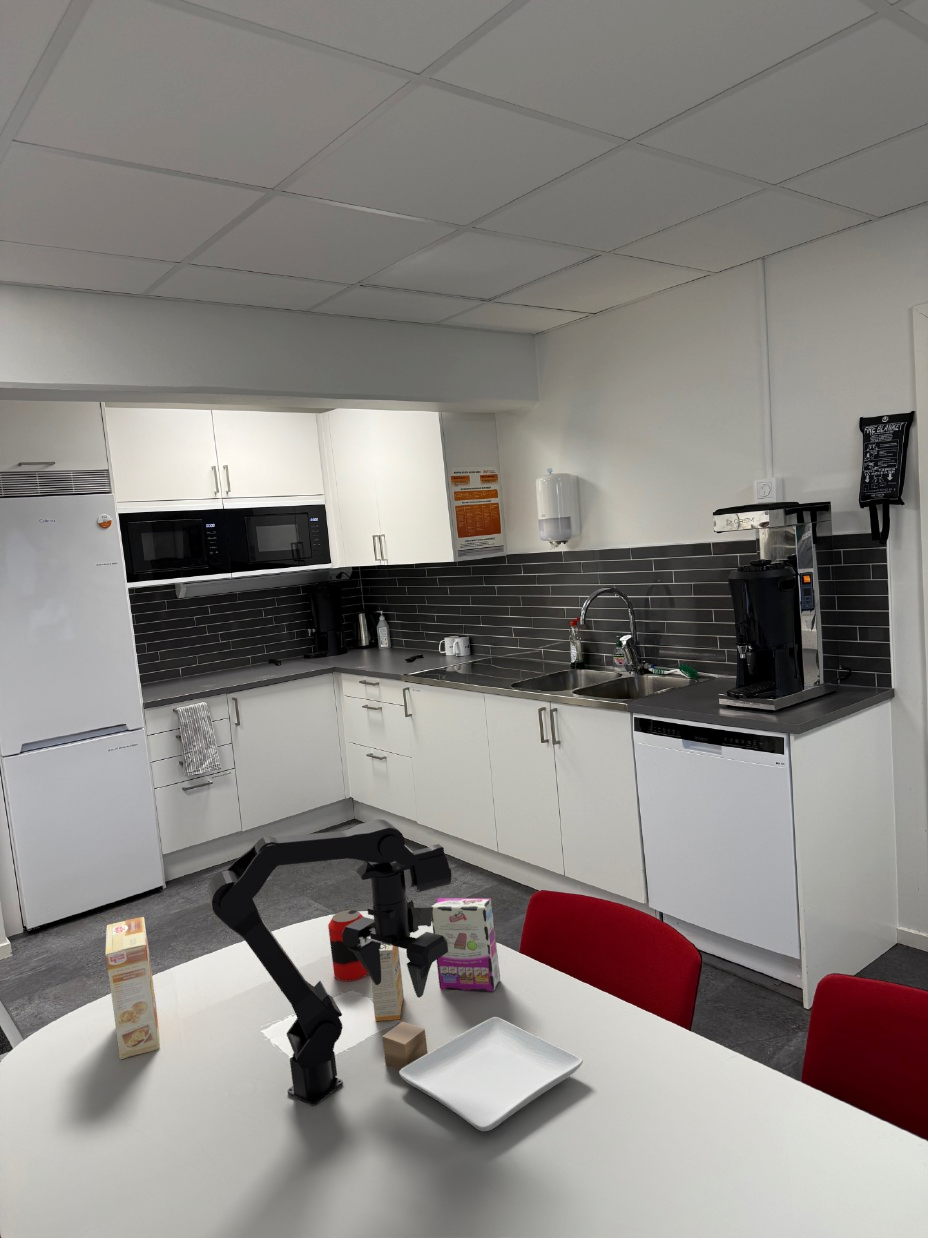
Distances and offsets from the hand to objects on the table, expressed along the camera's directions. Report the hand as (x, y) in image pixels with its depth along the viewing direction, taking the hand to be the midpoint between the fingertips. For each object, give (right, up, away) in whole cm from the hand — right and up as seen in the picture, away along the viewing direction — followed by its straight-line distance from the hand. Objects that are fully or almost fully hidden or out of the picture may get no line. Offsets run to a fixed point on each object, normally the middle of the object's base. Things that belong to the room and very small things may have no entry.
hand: (398, 990), depth 143 cm
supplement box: (-3, -11, +18) cm, 21 cm away
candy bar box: (+12, -9, +23) cm, 28 cm away
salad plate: (+15, -12, -8) cm, 21 cm away
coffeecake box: (-50, -16, +18) cm, 55 cm away
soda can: (-12, -11, +34) cm, 37 cm away
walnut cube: (+1, -12, 0) cm, 12 cm away
